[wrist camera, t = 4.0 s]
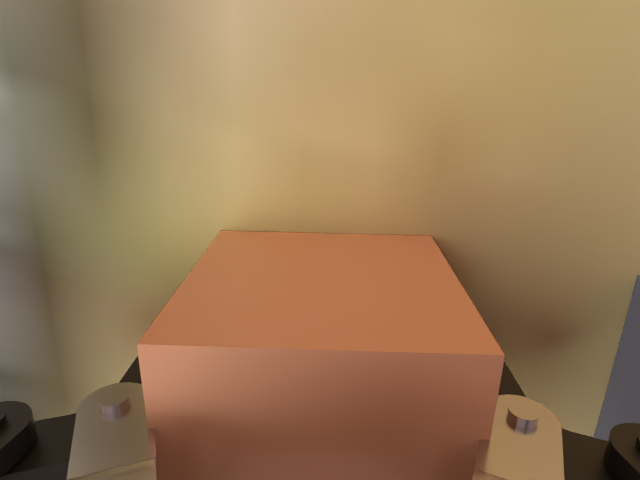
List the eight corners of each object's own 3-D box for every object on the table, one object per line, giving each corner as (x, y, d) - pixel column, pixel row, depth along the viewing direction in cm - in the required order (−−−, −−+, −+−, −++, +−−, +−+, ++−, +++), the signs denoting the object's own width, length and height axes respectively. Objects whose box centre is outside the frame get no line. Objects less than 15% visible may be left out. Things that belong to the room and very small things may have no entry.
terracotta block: (431, 235, 12) (505, 354, 7) (413, 409, 14) (461, 608, 9) (220, 230, 12) (136, 344, 7) (230, 403, 14) (169, 596, 9)
